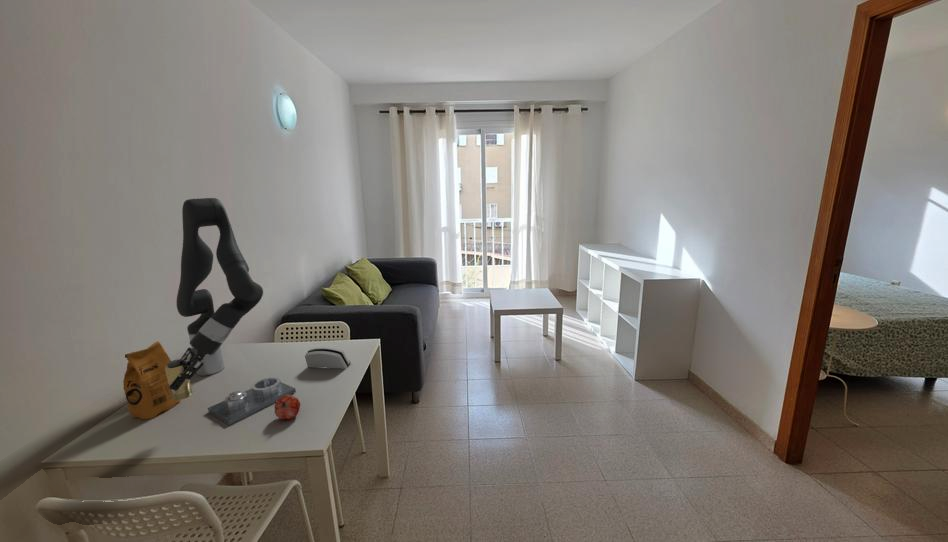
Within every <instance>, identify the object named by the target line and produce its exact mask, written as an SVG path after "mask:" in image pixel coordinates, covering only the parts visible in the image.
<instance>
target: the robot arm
mask: <svg viewBox="0 0 948 542" xmlns="http://www.w3.org/2000/svg"><path fill="white" fill-rule="evenodd" d="M181 210H182V214H181V215H182V237H183V238H182V249H181V257H180V258H181V259H180V277H179V278H180V280H179V285H178V290H177V295H176V302H175V303H176V309H177V313H178V314H179V315H180V316H181V317H185V318H188V317H189V318H190V317H193V316H194V317H195V316H197V315H200V316H199V317H197V319H196V320H194V321H192V322H191V323H190V324H188V325H187V333H188V336H189V337H188V338H189V345H190V347H187V349H186V350H185V352H184V353H183V354H182V356H181V357H180V359H181V360H182V361H184V362H185V363H184V364H183V366H182V371H181V372H180V373H179V375H178V376H177V378H176V379H175V380H174V381H173V382H172V384H171V385H170V386H169V387H170V389H172V390H178V389H179V387H180V386H181V385H182V384H183V382H184V381H185V380H187V379H188V380H190V381H191V379H192V378H193V377H194V375H196V374H197V375H198V376H200V377H201V376H210V375H214V374H217V373H218V372H221V371H222V370H224V368H225V364H224V363H225V362H224V359H223V354H222V348H221V346H222V345H223V344H224V342H225V341H226V339H227V338H228V337H229V336H230V335H231V334H232V333H231V332H232V330H234V328H235V327H236V326H237V325H238V323H239V322H240V321H241V319H242V318H243V317H244V316H245V315H247V314H248V313H249V312H250V311H251V310H252V309H254V308H255V307H256V306H257V305H258V304H259V303H260V301H261V300H262V298H263V296H264V289H263V287H262V286H261V285H260V284H258V283H257V282H255V281H254V280H253V279H252V277H251V275H250V274H249V271H250V268H249V265H248V263H247V261H246V259H245V258H244V256H243V253H242V251H241V249H240V247H239V245H238V243H237V240H236V237H235V234H234V231H233V230H234V229H233V228H232V224H231V221H230V219H229V216H228V213H227V211H226V208H225V206H224V204H223V203H222V202H221V200H220V199H218V198H216V197H206V198H205V197H204V198H203V197H202V198H189V199H186V200H185V201H184V202H183V205H182V209H181ZM214 226H216V227H217V228H218V231H219V239H218V244H217V246H216V247H217V248H216V250H215V251H216V252H215V254H216V259H217V262H218V264H219V266H220V268H221V270H222V272H223V273H224V275H225V279H226V283H227V288H228V289H229V291H230V293H231V295H232V296H233V297H234V298H233V299H232V300H231V301H230V302H227V303H223V304H221V305H220V306H219V307H218V309H216V311H215V307H214V300H213V296H212V293H210V291H209V290H208V289H205V288H201V289H198V287H199V286H200V285H201V284H202V283H203V282H204V281H205V280H206V279H207V278H208V276H209V275H210V274H211V273H212V270H213V264H214V253H213V250H212V249H211V248H210V247H209V245H208V244H207V243H206V242H205V241H204V240H203V239H202V238H201V236H200V235H199V229H200V228H204V227H214ZM187 372H188V374H186V373H187Z"/></svg>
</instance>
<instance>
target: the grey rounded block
mask: <svg viewBox="0 0 948 542" xmlns="http://www.w3.org/2000/svg"><path fill="white" fill-rule="evenodd" d="M304 358H305V362H306V365H307V368H308V367H327V368H326V369H330V368H341V369H340V370H347V369H348V365H349V366H350V364H349V363H351V364H352V361H351V360H350V359H348V357H347V355H346V354H345V351H344V350H342V349H340V348H336V347H330V346H317V347H312V348H310V349H308V350H307V352H306V353H305V355H304ZM346 368H347V369H346Z"/></svg>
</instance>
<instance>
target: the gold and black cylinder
mask: <svg viewBox="0 0 948 542" xmlns="http://www.w3.org/2000/svg"><path fill="white" fill-rule="evenodd" d="M184 363H185V362H184V361H182V360H181V358H179V359H174V360H171V361H170V362H168V363H167V366H166V367H165V372H166V376H167V380H168V384H169V386H170V385H171V384H172V382H173V381H174V380H175V379H176V378H177V376H178V375H179V373H180V372H181V371H182V366H183V364H184ZM188 373H189V371H188V372H187V373H186V374H188ZM169 388H170V387H169ZM192 388H193V387H192V385H191V379H190V380H188V379H187V380H185V381H184V382H183V384H182V385H181V386H180V387H179V389H178V390H172V389H170V392H171V397H172V400H182V401H183V400H184V399H187V398H189V397H191V396H192V395H193V392H194V391H193V389H192Z"/></svg>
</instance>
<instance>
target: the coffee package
mask: <svg viewBox="0 0 948 542" xmlns="http://www.w3.org/2000/svg"><path fill="white" fill-rule="evenodd" d="M124 358H125V359H126V360H127V361H128V362H127V363H126V364H127V365H126V370H125V372H124V377H123V380H122V382H123V391H124V395H125V399H126V401H127V402H126V403H127V408H128V411H129V415H131V417H133V418H138V419H142V420H151V419H153V418H156V417H157V416H158V415H159V414H161V413H163V412H166V411H169V410H171V409H172V408H173V407H175V406H176V405H177V404H178V403H180V402H181V400H172V397H171V392H170V388H169V384H168V380H167V376H166V372H165V367H166V366H167V363H168V362H170V361H172V360H171V357H169V355H168V353H167V352H166V351H165V349H164V347H163V346H162V344H161V342H160V341H156V342H155V341H154V342H153V344H151V345H150V346H148V347H147V348H145V349H142V350H138V351H132V352H129V353H125V354H124Z"/></svg>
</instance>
